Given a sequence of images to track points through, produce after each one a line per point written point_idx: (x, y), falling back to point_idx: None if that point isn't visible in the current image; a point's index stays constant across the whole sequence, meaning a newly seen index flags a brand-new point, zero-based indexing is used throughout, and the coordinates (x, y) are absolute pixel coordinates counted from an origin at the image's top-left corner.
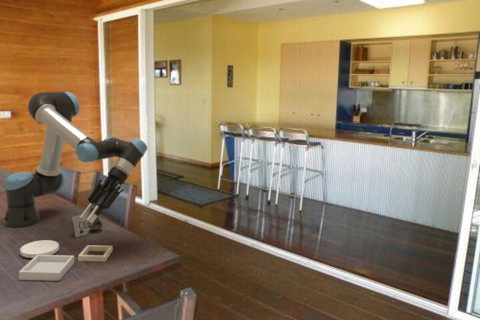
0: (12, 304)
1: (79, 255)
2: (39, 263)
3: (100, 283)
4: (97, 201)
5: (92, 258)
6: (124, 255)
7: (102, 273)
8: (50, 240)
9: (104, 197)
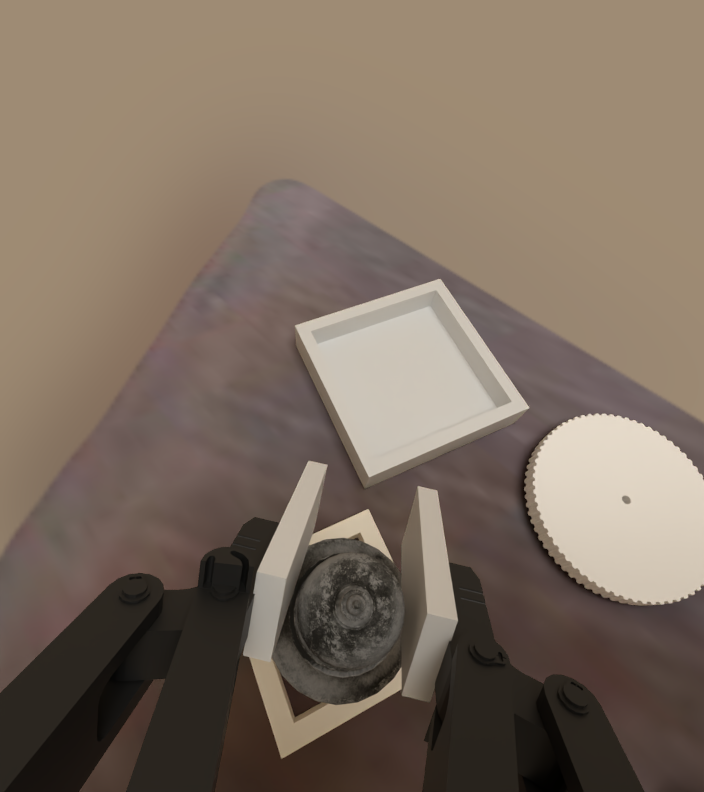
0: (317, 208)
1: (367, 518)
2: (479, 400)
3: (123, 391)
4: (426, 778)
5: None
6: None
7: (165, 463)
8: (676, 598)
9: (173, 741)
